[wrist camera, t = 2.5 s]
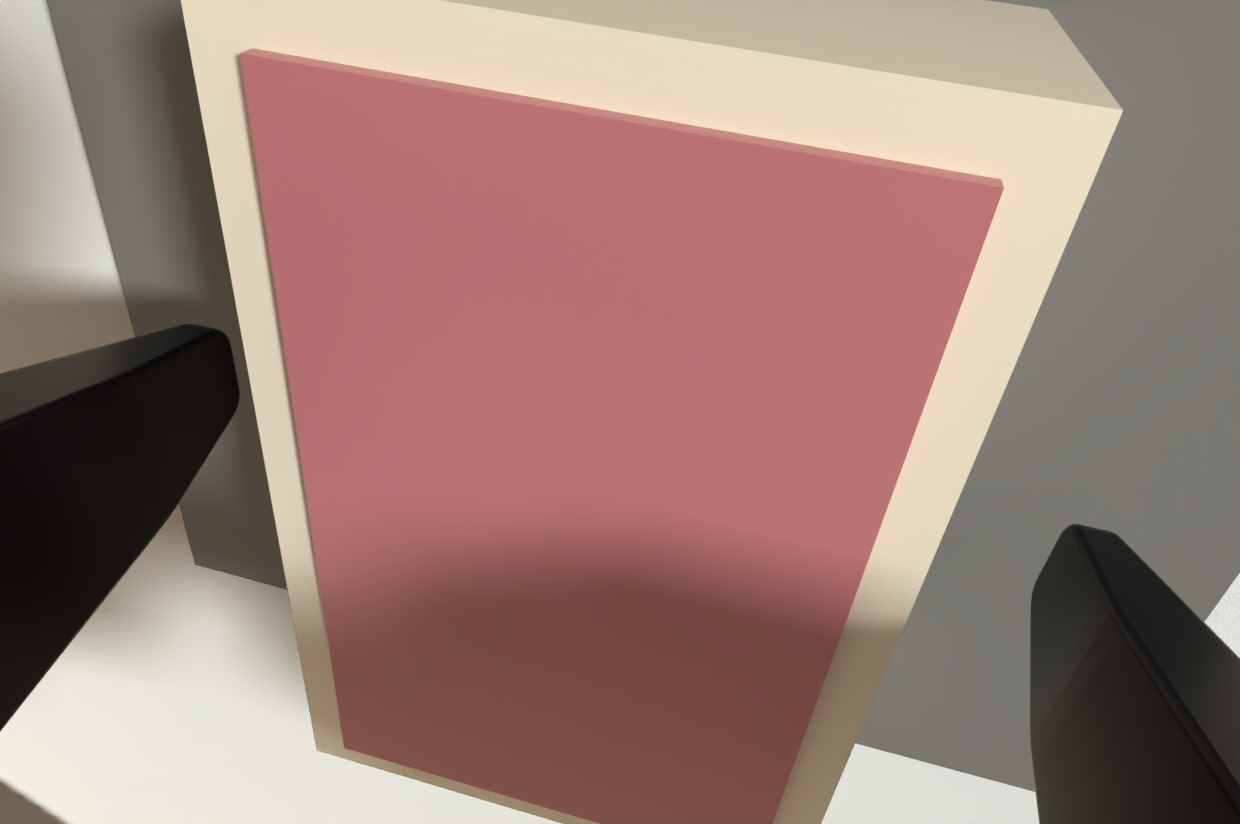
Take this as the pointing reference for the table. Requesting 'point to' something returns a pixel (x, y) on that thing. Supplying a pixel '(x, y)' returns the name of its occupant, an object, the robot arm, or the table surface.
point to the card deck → (628, 363)
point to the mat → (1020, 429)
